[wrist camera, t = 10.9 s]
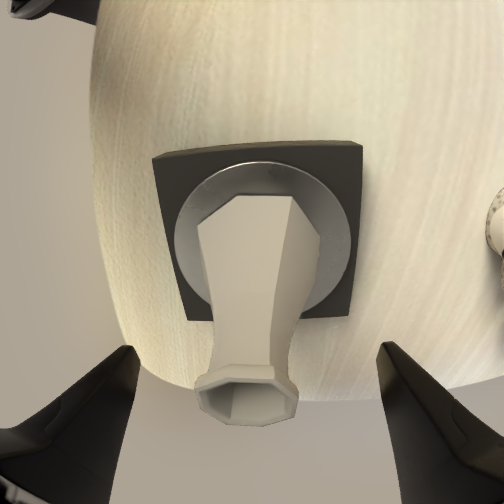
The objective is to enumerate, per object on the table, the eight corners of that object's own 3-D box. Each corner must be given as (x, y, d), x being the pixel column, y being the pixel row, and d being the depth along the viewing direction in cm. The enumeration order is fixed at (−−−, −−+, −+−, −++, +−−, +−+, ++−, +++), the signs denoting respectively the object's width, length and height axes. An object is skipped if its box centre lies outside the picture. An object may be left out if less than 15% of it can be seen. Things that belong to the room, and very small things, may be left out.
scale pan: (193, 315, 20) (191, 321, 19) (162, 169, 15) (158, 171, 14) (340, 311, 19) (342, 316, 18) (352, 157, 14) (355, 159, 13)
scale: (194, 301, 23) (186, 322, 20) (165, 152, 17) (149, 159, 15) (342, 296, 21) (348, 318, 19) (351, 140, 16) (364, 145, 14)
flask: (178, 214, 16) (87, 341, 7) (302, 174, 14) (357, 286, 5) (224, 310, 19) (197, 449, 10) (331, 284, 17) (368, 429, 8)
